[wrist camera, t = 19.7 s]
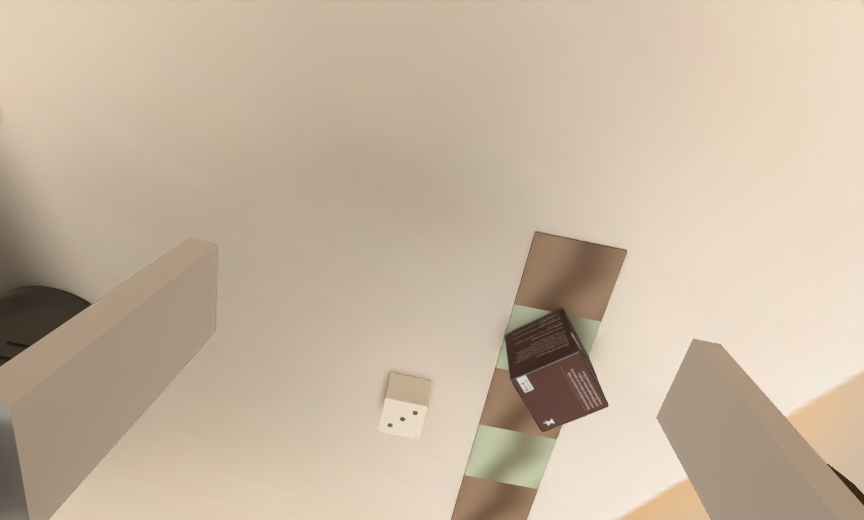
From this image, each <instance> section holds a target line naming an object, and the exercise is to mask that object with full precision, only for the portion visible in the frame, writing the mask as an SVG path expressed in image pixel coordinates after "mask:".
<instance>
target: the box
mask: <svg viewBox="0 0 864 520" xmlns="http://www.w3.org/2000/svg"><path fill="white" fill-rule="evenodd" d="M504 337H505V342H506V351H507V359H508V366H509V374H510V382H511V383H512V385H513V387H514V388H515V390H516V391H517V393H518V395H519V396H520V398H521V399H522V401H523V403H524V405H525V407H526V409H527V410H528V412H529V413H530V414H531V416H532V417H533V419H534V421H535V422H536V424H537V426H538V427H539V429H540V430H541V431H542V432H546V431H549V430H551V429H553V428H556V427H558V426H561V425H563V424H566V423H568V422H570V421H573V420H576V419H578V418H581V417H583V416H586V415H588V414H591V413H594V412H596V411H599V410H601V409H603V408H606V407H608V402H607V400H606V398H605V396H604V394H603V391H602V389H601V386H600V384H599V382H598V379H597V376H596V374H595V371H594V369H593V366H592V364H591V362H590V359H589V356H588V354H587V352H586V350H585V348H584V347H583V345H582V343H581V341H580V339H579V337H578V335H577V333H576V331H575V330H574V328H573V326H572V324H571V322H570V320H569V319H568V317H567V315H566V313H565V311H564V310H563V309H559V310H557V311H554V312H552V313H550V314H548V315H546V316H544V317H542V318H540V319H538V320H536V321H534V322H531V323H529V324H527V325H525V326H522V327H520V328H518V329H516V330H513V331H511V332H509V333H507V334H506V335H505V336H504Z"/></svg>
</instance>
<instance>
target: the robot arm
mask: <svg viewBox="0 0 864 520" xmlns="http://www.w3.org/2000/svg"><path fill="white" fill-rule="evenodd" d="M217 260H218V244H216V243H211V242H206V241H201V240H196V239H191V238H189V239H188V240H186V241H185V242H183V243H182V244H180V245H179V246H177V247H176V248H174V249H173V250H171V251H170V252H168V253H167V254H166V255H164V256H163V257H161V258H160V259H158V260H157V261H155V262H154V263H152V264H151V265H149V266H148V267H146V268H145V269H143V270H142V271H140V272H139V273H138V274H136V275H135V276H133V277H132V278H130V279H129V280H127V281H126V282H124V283H123V284H121V285H120V286H118V287H117V288H115V289H114V290H112V291H111V292H110V293H108V294H107V295H105V296H104V297H102V298H101V299H99V300H98V301H96V302H95V303H93V304H92V305H90V304H88V303H86V302H85V301H83V300H81V299H79V298H77V297H75V296H73V295H71V294H68V293H65V292H63V291H59V290H56V289H51V288H45V287H22V288H17V289H14V290H11V291H8V292H6V293H4V294H2V295H0V520H49V519H50V517H51V516H52V515H53V514H54V513H55V512H56V511H57V510H58V508H59V507H60V506H61V505H62V504H63V503H64V502H65V501H66V499H67V498H68V497H69V496H70V495H71V494H72V493H73V492H74V490H75V489H76V488H77V487H78V486H79V485H80V484H81V483H82V481H83V480H84V479H85V478H86V477H87V476H88V475H89V473H90V472H91V471H92V470H93V469H94V468H95V467H96V466H97V464H98V463H99V462H100V461H101V460H102V459H103V458H104V457H105V455H106V454H107V453H108V452H109V451H110V450H111V449H112V448H113V446H114V445H115V444H116V443H117V442H118V441H119V440H120V439H121V437H122V436H123V435H124V434H125V433H126V432H127V431H128V430H129V428H130V427H131V426H132V425H133V424H134V423H135V422H136V420H137V419H138V418H139V417H140V416H141V415H142V414H143V413H144V411H145V410H146V409H147V408H148V407H149V406H150V405H151V404H152V402H153V401H154V400H155V399H156V398H157V397H158V396H159V395H160V393H161V392H162V391H163V390H164V389H165V388H166V387H167V386H168V384H169V383H170V382H171V381H172V380H173V379H174V378H175V377H176V375H177V374H178V373H179V372H180V371H181V370H182V369H183V367H184V366H185V365H186V364H187V363H188V362H189V361H190V360H191V358H192V357H193V356H194V355H195V354H196V353H197V352H198V351H199V349H200V348H201V347H202V346H203V345H204V344H205V343H206V342H207V340H208V339H209V338H210V337H211V336H212V335H213V334H214V333H215V331H216V299H217ZM656 418H657V419H658V421H659V423H660V425H661V427H662V429H663V431H664V433H665V434H666V436H667V438H668V440H669V442H670V444H671V446H672V448H673V449H674V451H675V453H676V455H677V457H678V459H679V461H680V462H681V464H682V466H683V468H684V470H685V472H686V474H687V476H688V477H689V479H690V481H691V483H692V485H693V487H694V489H695V491H696V492H697V494H698V496H699V498H700V500H701V502H702V504H703V506H704V507H705V509H706V511H707V513H708V515H709V517H710V519H711V520H864V494H863V493H862V492H861V491H860V490H859V489H858V488H857V487H856V486H855V485H854V484H853V483H852V482H850V481H849V480H848V479H846V478H845V477H844V476H843V475H842V474H840V473H839V472H838V471H836V470H835V469H834V468H833V467H831V466H830V465H829V464H826V463H825V462H824V460H823V459H822V458H821V457H820V456H819V455H818V454H817V453H816V452H815V450H814V449H813V448H812V447H811V446H810V445H809V444H808V442H807V441H806V440H805V439H804V438H803V437H802V436H801V434H800V433H799V432H798V431H797V430H796V429H795V428H794V427H793V426H792V424H791V423H790V422H789V421H788V420H787V419H786V418H785V416H784V415H783V414H782V413H781V412H780V411H779V410H778V409H777V407H776V406H775V405H774V404H773V403H772V402H771V401H770V400H769V398H768V397H767V396H766V395H765V394H764V393H763V392H762V391H761V389H760V388H759V387H758V386H757V385H756V384H755V383H754V382H753V380H752V379H751V378H750V377H749V376H748V375H747V374H746V373H745V371H744V370H743V369H742V368H741V367H740V366H739V365H738V364H737V362H736V361H735V360H734V359H733V358H732V357H731V356H730V354H729V353H728V352H727V351H726V350H725V349H724V348H723V347H722V345H721V344H717V343H712V342H707V341H702V340H697V339H693V340H692V342H691V345H690V347H689V349H688V351H687V353H686V355H685V357H684V359H683V362H682V364H681V366H680V368H679V370H678V372H677V374H676V377H675V379H674V381H673V383H672V385H671V387H670V389H669V392H668V394H667V396H666V398H665V400H664V402H663V404H662V407H661V409H660V411H659V413H658V415H657V417H656Z"/></svg>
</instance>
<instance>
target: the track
mask: <svg viewBox="0 0 864 520" xmlns="http://www.w3.org/2000/svg"><path fill="white" fill-rule="evenodd" d="M626 254H627V250H623V249H618V248H613V247H608V246H603V245H599V244H594V243H589V242H584V241H579V240H574V239H569V238H564V237H559V236H554V235H549V234H544V233H539V232H535V235H534V238H533V242H532V245H531V248H530V252H529V255H528V259H527V262H526V266H525V269H524V272H523V276H522V279H521V283H520V286H519V289H518V293H517V296H516V300H515V303H514V307H513V310H512V313H511V317H510V320H509V324H508V327H507V331H506V334H507V333H509V332H511V331H513V330H516V329H518V328H520V327H522V326H525V325H527V324H529V323H531V322H534V321H536V320H538V319H540V318H542V317H544V316H546V315H548V314H550V313H552V312H554V311H557V310H559V309H563V310H564V311H565V313H566V315H567V317H568V319H569V320H570V322H571V324H572V326H573V328H574V330H575V331H576V333H577V335H578V337H579V339H580V341H581V343H582V345H583V347H584V348H585V350H586V352H587V354H588V355H589V352H590V350H591V347H592V344H593V342H594V339H595V336H596V334H597V331H598V328H599V326H600V323H601V320H602V318H603V315H604V312H605V310H606V307H607V304H608V302H609V299H610V296H611V294H612V291H613V288H614V286H615V283H616V280H617V278H618V275H619V272H620V270H621V267H622V264H623V262H624V259H625V256H626ZM506 334H505V335H506ZM561 427H562V425H561V426H558V427H556V428H553V429H551V430H549V431H546V432H542V431H541V430H540V429H539V427H538V426H537V424H536V422H535V421H534V419H533V417H532V416H531V414H530V413H529V412H528V410H527V409H526V407H525V405H524V403H523V401H522V399H521V398H520V396H519V395H518V393H517V391H516V390H515V388H514V387H513V385H512V383H511V382H510V374H509V366H508V359H507V351H506V342H505V337H504V341H503V344H502V348H501V351H500V354H499V358H498V361H497V365H496V368H495V372H494V375H493V378H492V382H491V385H490V389H489V392H488V395H487V399H486V402H485V406H484V409H483V413H482V416H481V419H480V423H479V426H478V430H477V433H476V436H475V440H474V443H473V447H472V450H471V454H470V457H469V460H468V464H467V467H466V471H465V474H464V478H463V481H462V484H461V488H460V491H459V495H458V498H457V501H456V505H455V508H454V512H453V515H452V519H451V520H527V517H528V514H529V512H530V509H531V506H532V504H533V501H534V498H535V496H536V493H537V490H538V488H539V485H540V482H541V480H542V477H543V475H544V472H545V469H546V467H547V464H548V461H549V459H550V456H551V453H552V451H553V448H554V445H555V443H556V440H557V437H558V435H559V432H560V429H561Z"/></svg>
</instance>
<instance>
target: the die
mask: <svg viewBox="0 0 864 520" xmlns="http://www.w3.org/2000/svg"><path fill="white" fill-rule="evenodd" d="M429 391H430V380H425V379H420V378H416V377H411V376H406V375H401V374H397V373H392V372H391V373H390V378H389V383H388V387H387V392H386V396H385V401H384V405H383V410H382V415H381V419H380V424H379V429H378V432H383V433H388V434H393V435H398V436H403V437H408V438H413V439H417V440H419V439H420V436H421V432H422V428H423V424H424V420H425V416H426V413H427V409H428V402H429Z"/></svg>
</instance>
